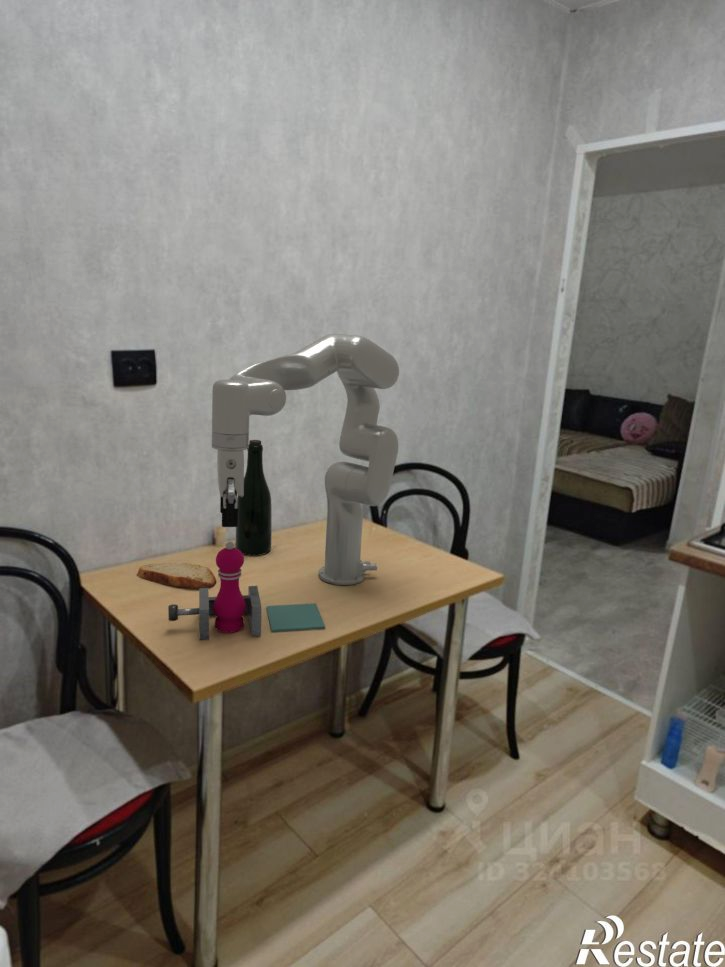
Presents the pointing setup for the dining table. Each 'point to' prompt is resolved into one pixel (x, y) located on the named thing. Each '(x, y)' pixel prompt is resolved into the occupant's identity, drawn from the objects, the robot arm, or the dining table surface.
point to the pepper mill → (229, 591)
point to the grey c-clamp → (207, 610)
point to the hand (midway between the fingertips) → (228, 519)
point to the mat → (294, 617)
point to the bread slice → (179, 575)
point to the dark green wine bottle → (254, 507)
